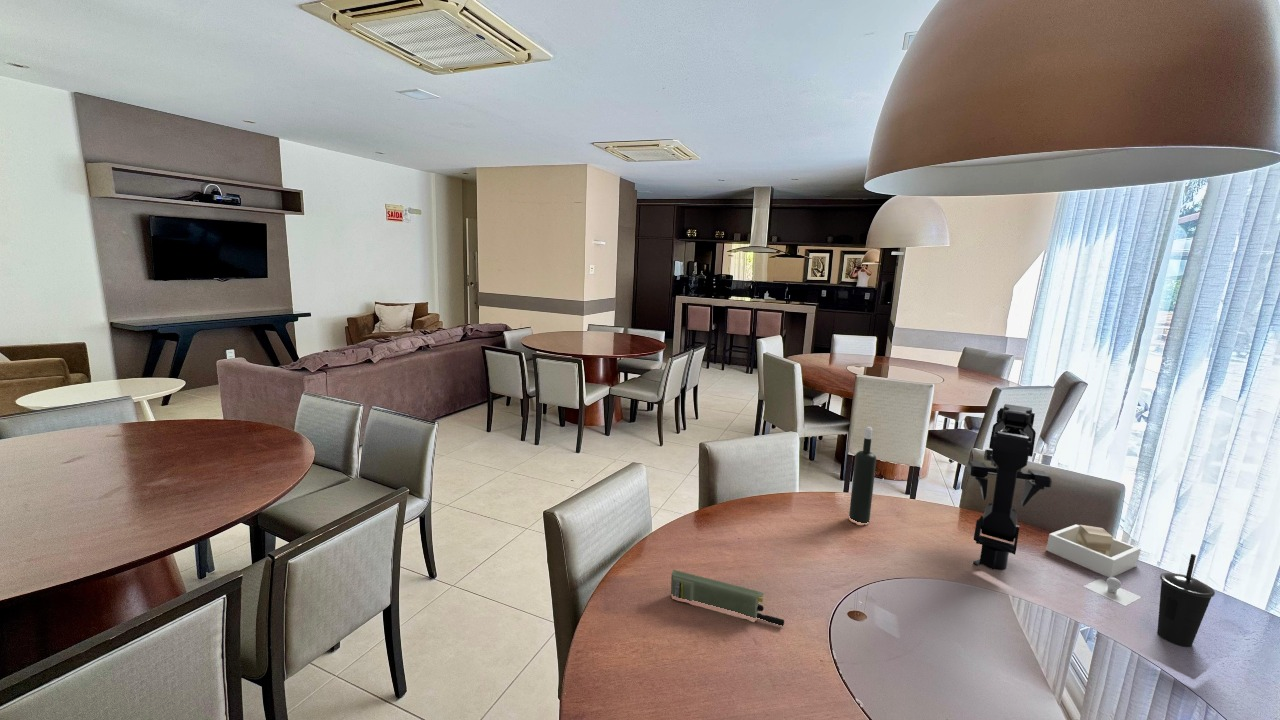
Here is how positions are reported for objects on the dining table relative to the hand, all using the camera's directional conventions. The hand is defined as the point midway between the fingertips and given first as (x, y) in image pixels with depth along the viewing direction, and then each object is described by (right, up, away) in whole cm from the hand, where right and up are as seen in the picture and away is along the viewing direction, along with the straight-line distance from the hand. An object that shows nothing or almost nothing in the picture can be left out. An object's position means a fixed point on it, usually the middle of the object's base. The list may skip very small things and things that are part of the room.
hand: (1003, 502), depth 143 cm
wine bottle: (-36, -9, +12) cm, 39 cm away
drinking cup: (+8, -19, -38) cm, 43 cm away
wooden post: (+18, -13, -8) cm, 23 cm away
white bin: (+18, -14, -7) cm, 24 cm away
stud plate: (+10, -16, -22) cm, 29 cm away
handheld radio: (-84, -16, -32) cm, 91 cm away
